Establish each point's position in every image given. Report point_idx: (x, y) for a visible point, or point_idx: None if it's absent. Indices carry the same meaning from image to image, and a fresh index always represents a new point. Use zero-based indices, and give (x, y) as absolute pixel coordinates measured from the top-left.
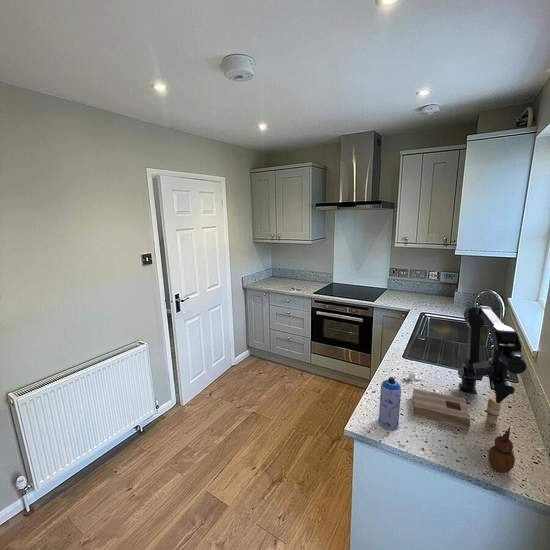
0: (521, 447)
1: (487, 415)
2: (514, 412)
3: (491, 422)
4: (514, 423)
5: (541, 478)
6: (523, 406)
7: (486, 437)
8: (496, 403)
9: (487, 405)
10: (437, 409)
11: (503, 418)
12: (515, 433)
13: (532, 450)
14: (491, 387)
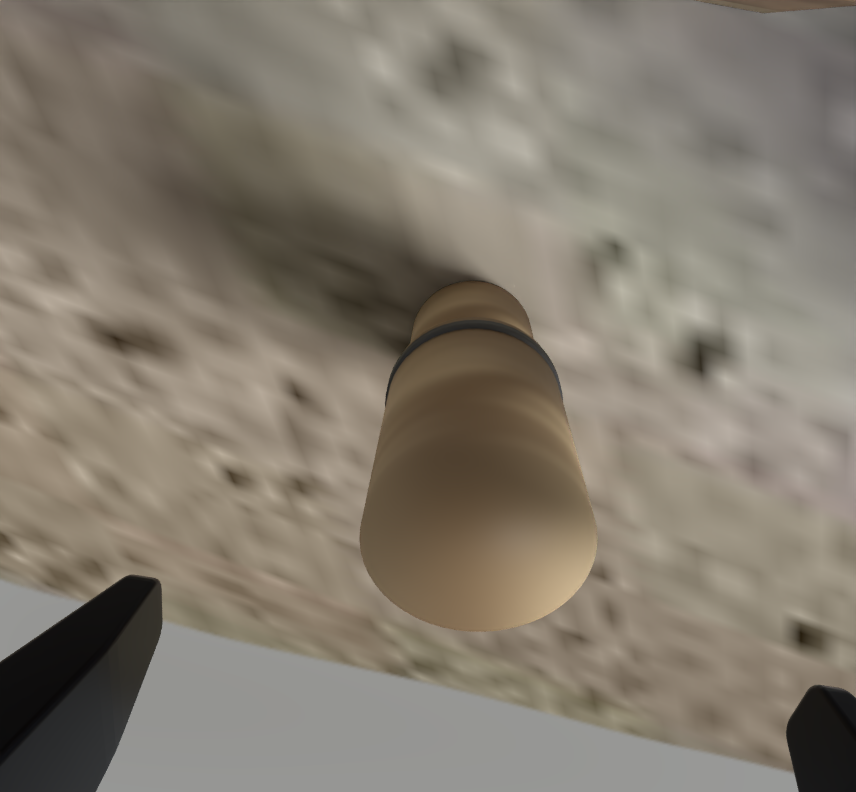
0: (70, 461)
1: (471, 312)
2: (700, 640)
3: (415, 324)
4: None
5: None
6: None
7: (64, 131)
8: (401, 553)
9: (517, 379)
10: None
11: None
12: (301, 502)
13: (73, 534)
14: (845, 755)
